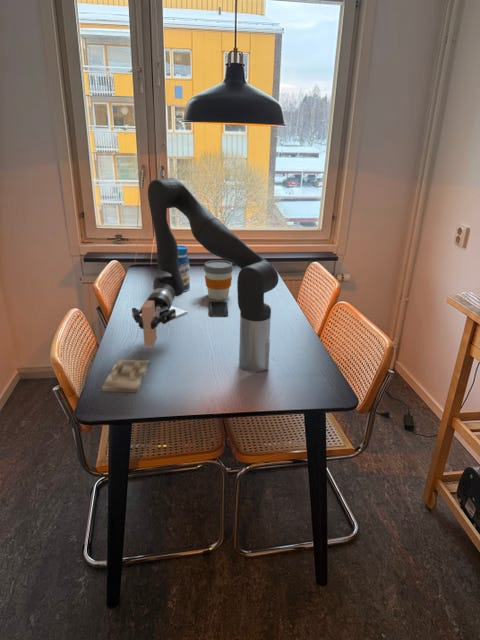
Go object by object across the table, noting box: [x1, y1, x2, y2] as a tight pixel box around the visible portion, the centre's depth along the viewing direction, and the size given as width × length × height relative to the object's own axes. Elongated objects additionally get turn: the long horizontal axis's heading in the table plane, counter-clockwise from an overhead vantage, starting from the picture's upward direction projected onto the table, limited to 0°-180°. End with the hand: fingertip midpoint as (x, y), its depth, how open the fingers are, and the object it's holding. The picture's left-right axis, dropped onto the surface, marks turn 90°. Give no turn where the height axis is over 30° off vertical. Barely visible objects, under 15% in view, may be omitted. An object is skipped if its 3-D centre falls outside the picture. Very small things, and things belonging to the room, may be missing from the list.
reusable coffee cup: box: [203, 259, 234, 301], centre depth 189 cm, size 13×13×15 cm
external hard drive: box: [170, 305, 189, 320], centre depth 174 cm, size 2×8×12 cm
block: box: [141, 299, 158, 347], centre depth 121 cm, size 5×2×12 cm, turn 179°
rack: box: [101, 359, 150, 393], centre depth 127 cm, size 16×10×3 cm, turn 179°
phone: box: [208, 300, 229, 318], centre depth 178 cm, size 8×1×15 cm
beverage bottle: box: [177, 245, 191, 292], centre depth 196 cm, size 8×8×20 cm
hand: (146, 325), depth 118 cm, fingers closed on block, 2 cm apart
